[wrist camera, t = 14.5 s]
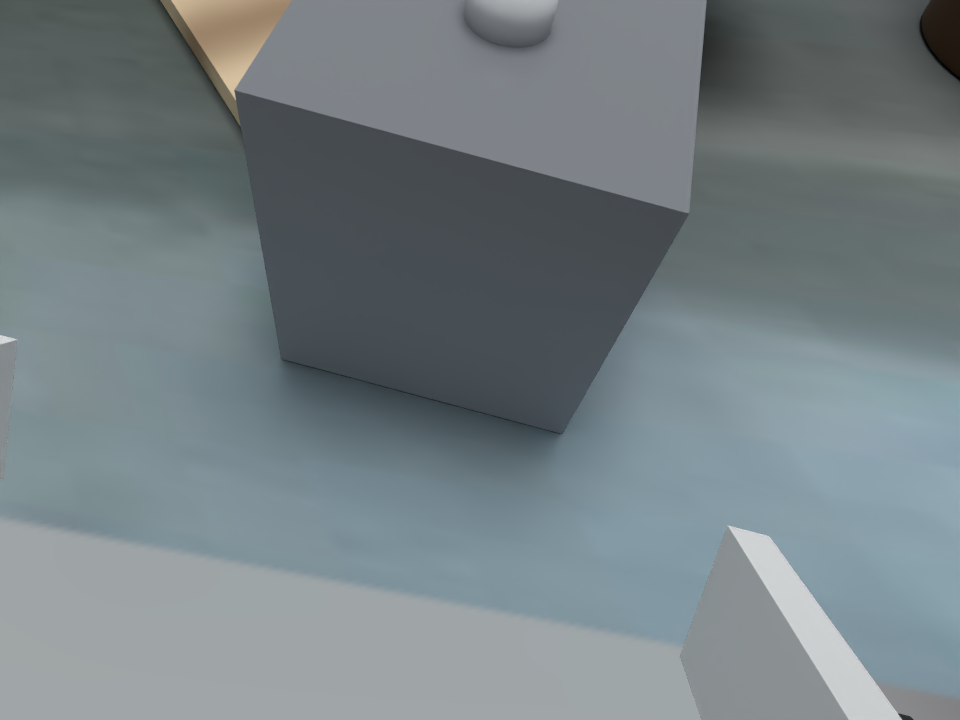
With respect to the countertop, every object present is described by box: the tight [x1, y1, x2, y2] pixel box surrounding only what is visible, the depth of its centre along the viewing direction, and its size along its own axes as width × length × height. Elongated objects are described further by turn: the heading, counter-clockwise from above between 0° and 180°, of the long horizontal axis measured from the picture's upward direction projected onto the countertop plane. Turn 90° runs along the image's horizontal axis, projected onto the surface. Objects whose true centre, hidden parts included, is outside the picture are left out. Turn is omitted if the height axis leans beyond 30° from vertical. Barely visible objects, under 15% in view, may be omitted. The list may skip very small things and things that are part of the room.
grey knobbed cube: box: [234, 0, 707, 434], centre depth 20 cm, size 9×9×11 cm
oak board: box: [160, 0, 292, 127], centre depth 30 cm, size 12×12×1 cm
